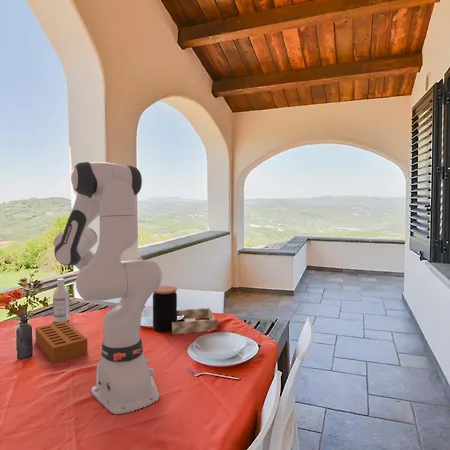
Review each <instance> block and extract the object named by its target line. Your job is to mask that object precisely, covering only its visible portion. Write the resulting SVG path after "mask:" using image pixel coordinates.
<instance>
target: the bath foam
mask: <svg viewBox="0 0 450 450" xmlns="http://www.w3.org/2000/svg"><path fill="white" fill-rule="evenodd" d="M56 281H57V287H56V288H55V290H54V292H53V295H52V313H53V316H52V317H53V322H55V323H60V322H64V321H66V322H68V321H69V320H70V318H71V314H70V312H71V311H70V294H69V290H68V289H67V287H65V278H63V277H61V278H57V280H56Z"/></svg>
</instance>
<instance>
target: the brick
mask: <svg viewBox="0 0 450 450" xmlns="http://www.w3.org/2000/svg"><path fill="white" fill-rule="evenodd" d="M35 342H36V344H37V345H38V346H39V347H40V349H41V350H42V351H43V352H44V354H45V355H46V356H47V357H48V358H49V360H50V361H51V362H52V364H56V363H60V362H64V361H68V360H71V359H74V358H79V357H81V356H84V355H88V354H89V353H88V338H87V337H86V336H85V335H83V334H82V333H81V332H80V331H79V330H77V328H75V327H74V326H73V325H72V324H70V323H69V322H68V321H64V322H60V323H58V322H55V323H51V324H46V325H42V326H38V327H35Z"/></svg>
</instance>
